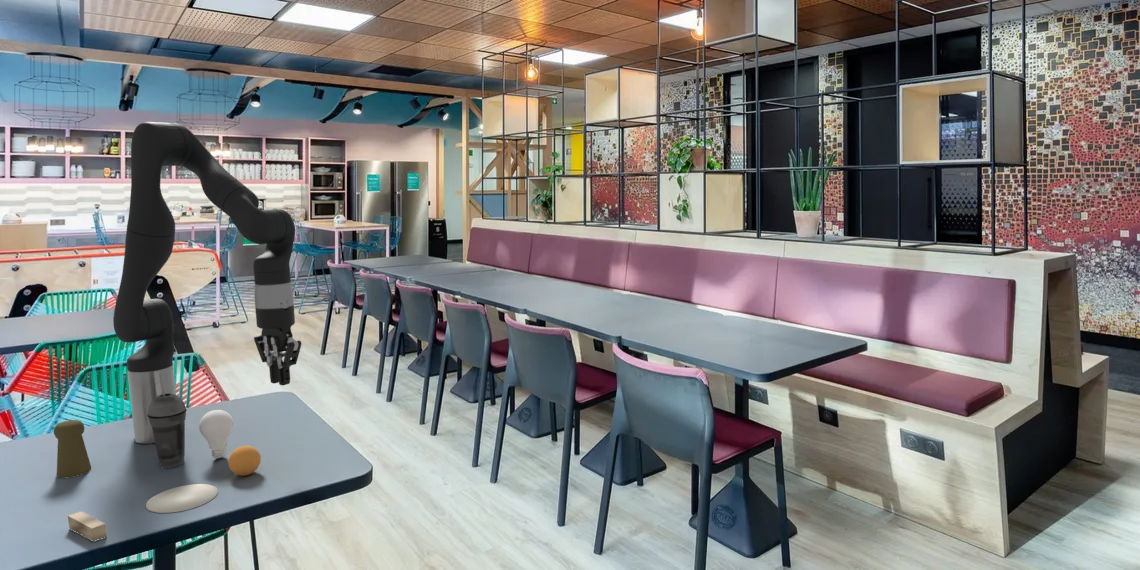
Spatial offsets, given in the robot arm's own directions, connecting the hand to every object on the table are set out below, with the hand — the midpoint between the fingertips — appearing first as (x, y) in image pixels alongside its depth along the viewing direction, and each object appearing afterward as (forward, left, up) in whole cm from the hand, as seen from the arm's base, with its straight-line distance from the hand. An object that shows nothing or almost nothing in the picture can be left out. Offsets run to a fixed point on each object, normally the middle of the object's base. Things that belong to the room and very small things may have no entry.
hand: (280, 383), depth 148 cm
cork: (-33, -28, -17) cm, 46 cm away
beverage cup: (-19, -15, -17) cm, 29 cm away
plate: (0, -23, -17) cm, 28 cm away
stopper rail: (-1, -39, -17) cm, 42 cm away
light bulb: (-13, -8, -17) cm, 23 cm away
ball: (0, -10, -14) cm, 17 cm away
